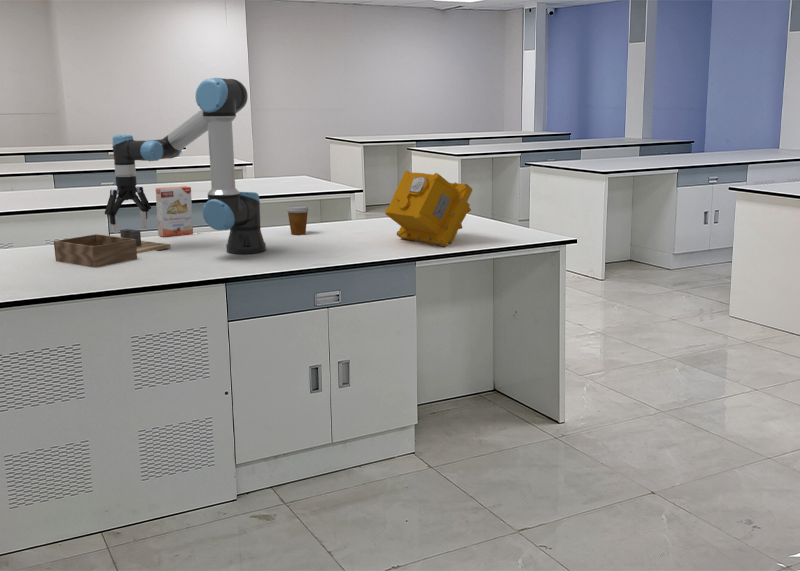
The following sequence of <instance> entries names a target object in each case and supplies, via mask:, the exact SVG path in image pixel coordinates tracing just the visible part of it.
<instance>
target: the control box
mask: <svg viewBox="0 0 800 571" xmlns="http://www.w3.org/2000/svg"><path fill="white" fill-rule="evenodd" d="M472 192H473V188H472V187H471V186H470V185H469V184H468V183H458V182H456V181H455V182H449V181H448V180H446V179H445V178H444V177H443V176H441V175H440V174H439V173H437V172H435V173H434V174H432V173H423V172H411V171H409V170H405V171H404V172H403V175H402V177H401V179H400V181H399V184H398V186H397V189H395V192H394V194H393V196H392V199H391V201H390V203H389V206H388V207H386V208H385V212H384V213H385V215H386V216H387V217H388V218H390V219H391V220H392V221H393V222H395V223H396V224H397V225H399V226H400V227H399V230H398V231H397V232H396V236H397V237H399V238H401V240H406V241H407V240H408V241H412V242H416V243H423V244H429V245H433V246H439V247H445V248H446V247H448V244H453V242H454V240H455V239H456V236H457V234H458V232H459V230H462V229H463V225H462V223H463V221H464V219H465V217H466V216H467V214H468V213H469V212H471V211H472V209H471V207H470V206H471V204H470V203H469V202H468V201H469V199H470V196H471V195H472Z"/></svg>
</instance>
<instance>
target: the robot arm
mask: <svg viewBox="0 0 800 571" xmlns="http://www.w3.org/2000/svg"><path fill="white" fill-rule="evenodd" d="M248 95H249V94H248V91H247V88H246V87H245V85H244V84H243V83H242V82H241V81H239V80H237V79H234V78H222V77H213V78H212V77H210V78H206V79H204V80H202V81H201V82H200V83H199V85H198V86H197V88H196V92H195V103H196V105H197V106H198V107H199V109H200V110H199V111H197V112H196V113H195V114H193V115H192V116H191V117H189V118H188V119H187V120H186V121H184V122H183V123H182V124H180V125H178V127H177V128H175V129H173V130H172V131H171V132H170V133H168V134H167V135H166V136H164V137H163V138H161V139H150V140H149V139H147V140H134V136H133V135H132V134H115V135H113V136H112V153H113V160H114V173H115V186H116V189H110V191H109V197H108V201H107V204H106V208H105V209H104V210H105V211H104V215H106V216H109V223H110V225H111V229H112V233H114V234H118V233H120V229H119V221H118V220H119V219H118V215H117V213H118V211H119V210H120V208H121V206H122V204H123V203H125V201H129V200H132V201H133V202H134V204H135V205H137V206H136V207H138V208H139V209H140V211H139V219H140V220H139V222H140V228H141V229H148V225H147V221H148V212H149V211H150V210H151V209H152V206H151V205H150V202H149V200H148V199H147V196H146V194H145V192H144V187H143V186H137V183H138V182H137V176H136V175H137V170H136V161H143V162H145V161H147V162H155V161H156V162H157V161H159V160H169V159H170V160H171V159H174V158H178V157H179V156H180V155H181V153H182V150H183V149H185V147H187V146H188V145H190V144H191V143H193V142H194V141H196V140H197V139H198V138H200V137H201V136H203V134H205V133H208V134H207V135H208V149H209V150H208V151H209V152H208V153H209V166H210V167H209V168H210V170H209V171H210V182H211V188H210V190H209V191H208V192H207V201H206V202H205V203H204V205H203V208H202V217H203V220H204V221H205V223H206V225H208V226H209V227H210V228H212V229H213V230H214V231H215V230H216V231H229V234H228V238H227V243H226V246H225V248H226V250H225V251H226V252H227V253H229V254H235V255H236V254H237V255H238V254H239V255H245V254H246V255H249V254H258V253H262V252H265V251H267V246H266V245H267V244H266V242H265V241H264V237H263V233H262V230H261V211H260V210H261V205H260V204H261V201H260V195H259V194H258V193H257V192H252V191H239V190H238V189H237V188H236V177H235V175H236V174H235V156H234V155H235V154H234V153H235V152H234V138H233V137H234V136H233V121H234V120H235V119H236V117H237V113H239V112H240V111H241V110H242V109H243V108H244V107H245V106H246V105H247V102H248V97H249V96H248Z"/></svg>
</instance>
